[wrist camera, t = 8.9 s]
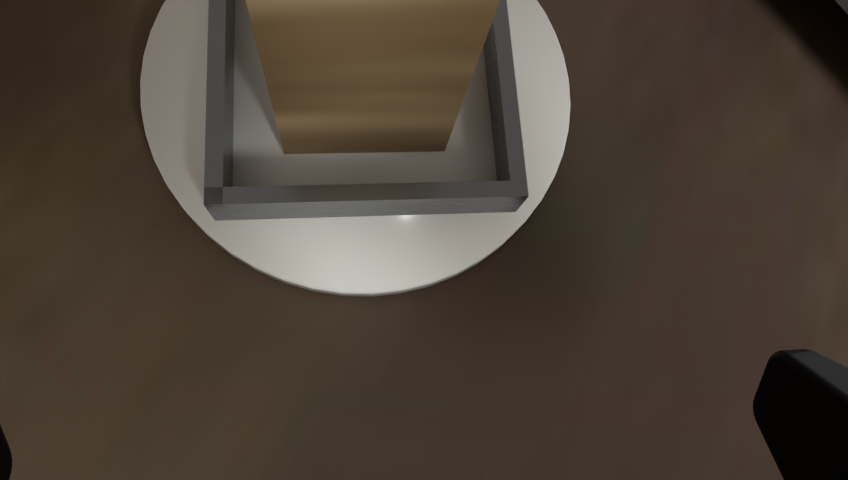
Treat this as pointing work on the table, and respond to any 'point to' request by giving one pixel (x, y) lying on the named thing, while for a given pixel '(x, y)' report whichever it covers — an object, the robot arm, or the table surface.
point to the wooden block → (368, 70)
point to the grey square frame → (360, 197)
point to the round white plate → (348, 161)
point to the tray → (843, 4)
